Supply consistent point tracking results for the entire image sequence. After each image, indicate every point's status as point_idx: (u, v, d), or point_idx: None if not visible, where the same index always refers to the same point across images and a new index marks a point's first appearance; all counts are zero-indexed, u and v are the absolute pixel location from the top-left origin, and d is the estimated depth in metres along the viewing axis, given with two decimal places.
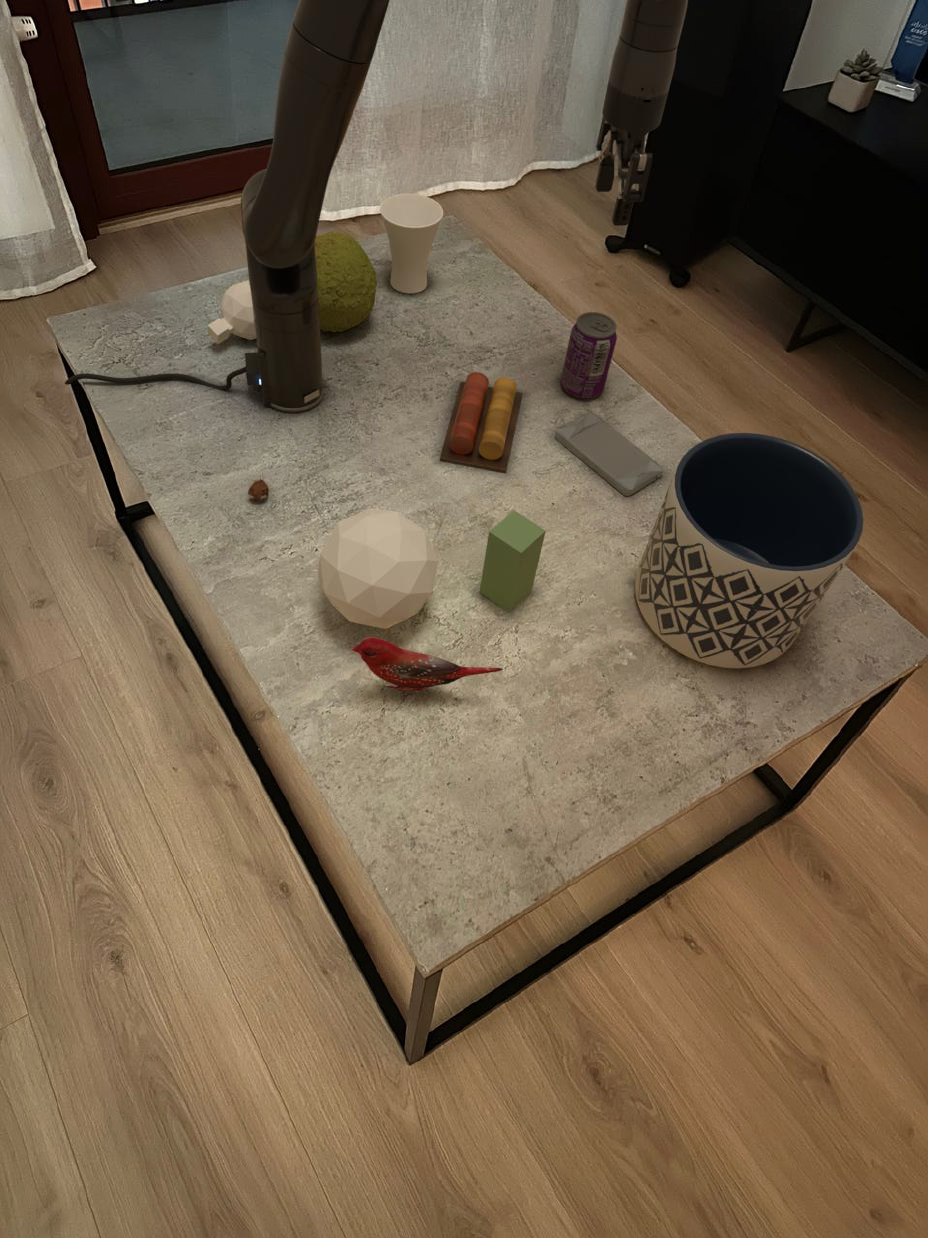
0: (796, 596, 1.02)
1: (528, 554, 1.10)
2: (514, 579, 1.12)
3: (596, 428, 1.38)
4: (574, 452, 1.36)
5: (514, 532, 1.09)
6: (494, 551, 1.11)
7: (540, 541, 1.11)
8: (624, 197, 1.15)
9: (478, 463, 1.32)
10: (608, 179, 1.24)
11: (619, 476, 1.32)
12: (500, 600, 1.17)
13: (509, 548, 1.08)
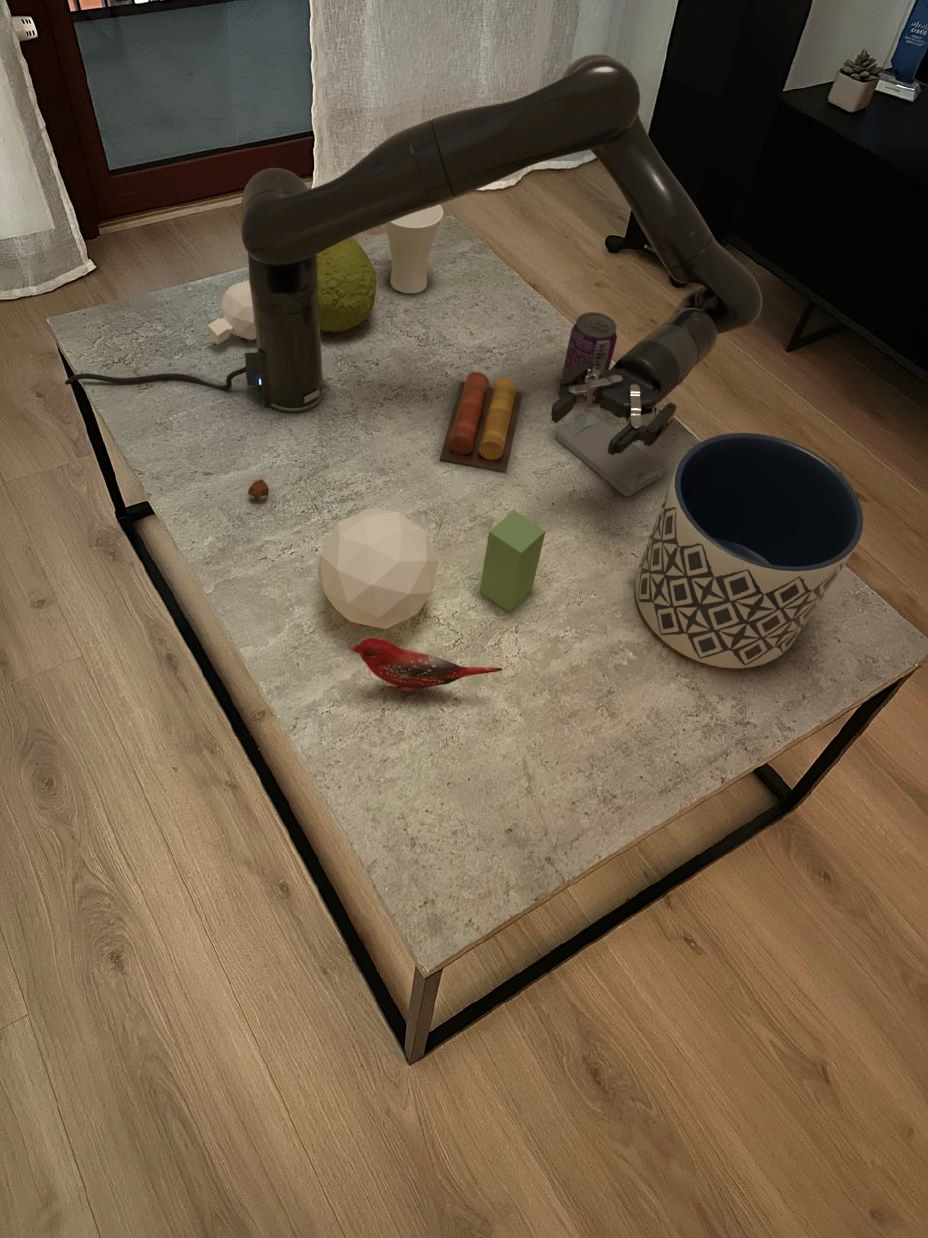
0: (796, 596, 1.02)
1: (528, 554, 1.10)
2: (514, 579, 1.12)
3: (596, 428, 1.38)
4: (574, 452, 1.36)
5: (514, 532, 1.09)
6: (494, 551, 1.11)
7: (540, 541, 1.11)
8: (653, 428, 1.08)
9: (478, 463, 1.32)
10: (564, 412, 1.12)
11: (619, 476, 1.32)
12: (500, 600, 1.17)
13: (509, 548, 1.08)
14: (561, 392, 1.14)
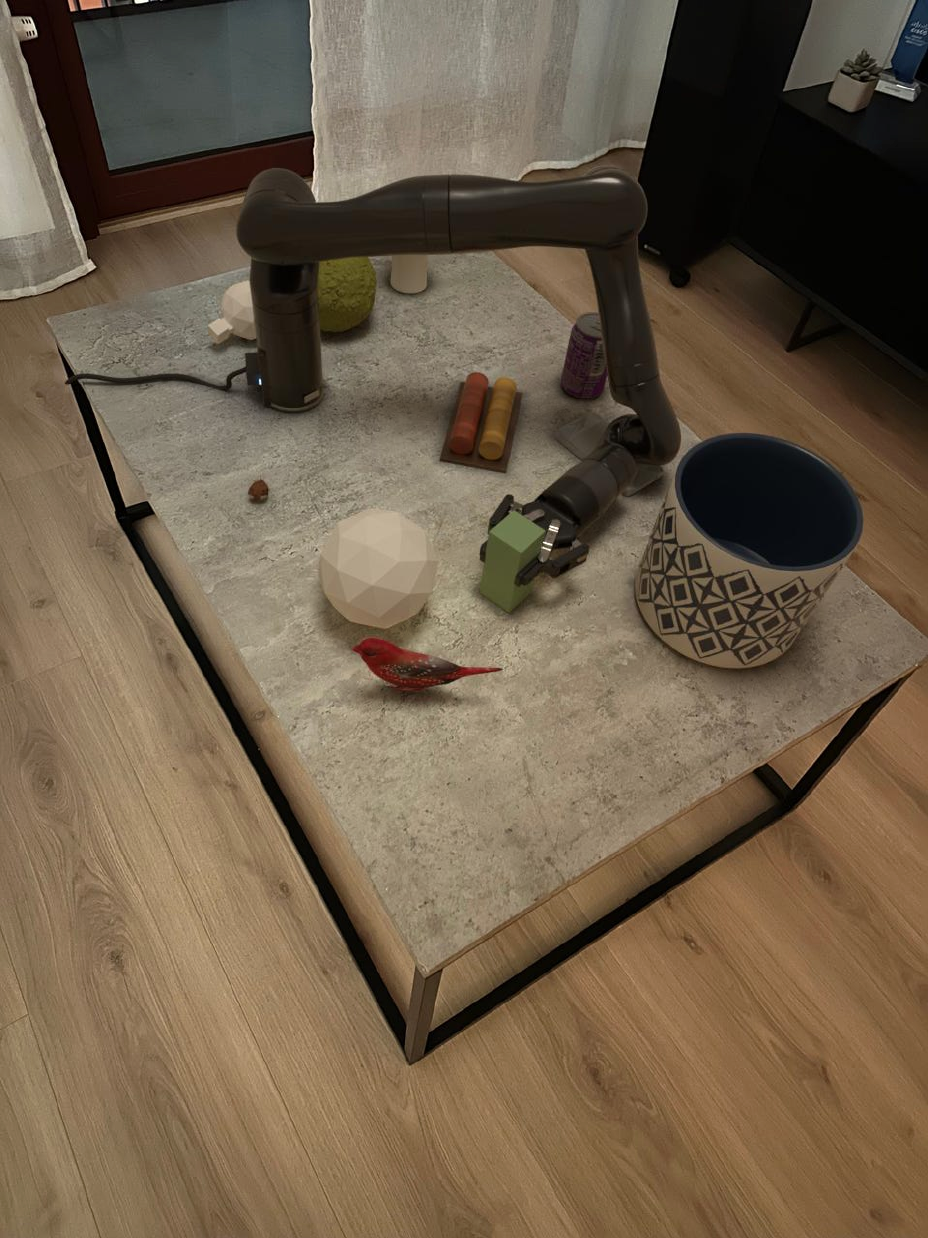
0: (796, 596, 1.02)
1: (528, 554, 1.10)
2: (514, 579, 1.12)
3: (596, 428, 1.38)
4: (574, 452, 1.36)
5: (514, 532, 1.09)
6: (494, 551, 1.11)
7: (540, 541, 1.11)
8: (558, 563, 1.12)
9: (478, 463, 1.32)
10: None
11: None
12: (500, 600, 1.17)
13: (509, 548, 1.08)
14: None
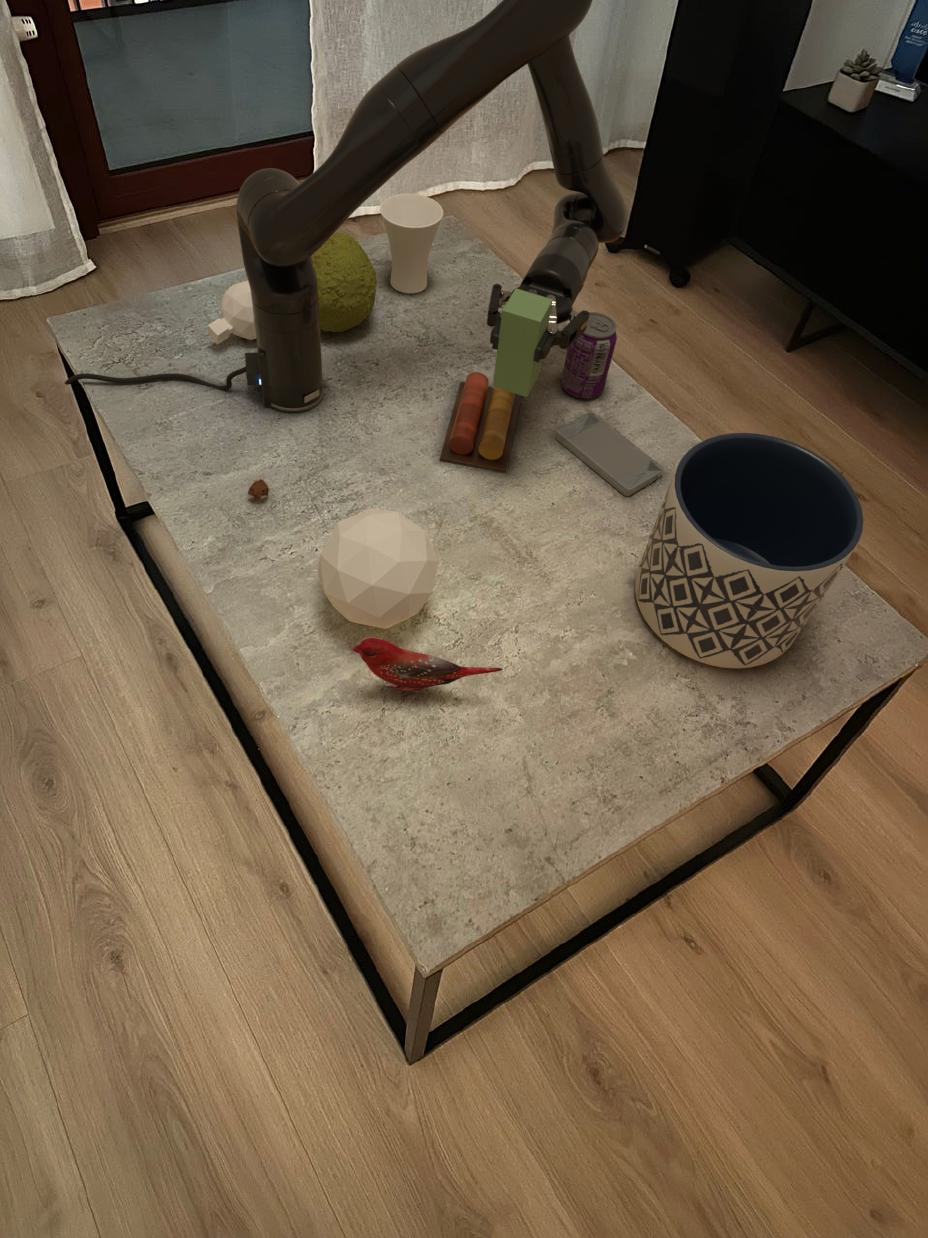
0: (796, 596, 1.02)
1: (542, 326, 1.12)
2: (533, 355, 1.14)
3: (596, 428, 1.38)
4: (574, 452, 1.36)
5: (525, 306, 1.11)
6: (509, 332, 1.13)
7: (549, 311, 1.13)
8: (568, 331, 1.15)
9: (478, 463, 1.32)
10: None
11: (619, 476, 1.32)
12: (517, 386, 1.19)
13: (526, 321, 1.11)
14: (491, 320, 1.17)
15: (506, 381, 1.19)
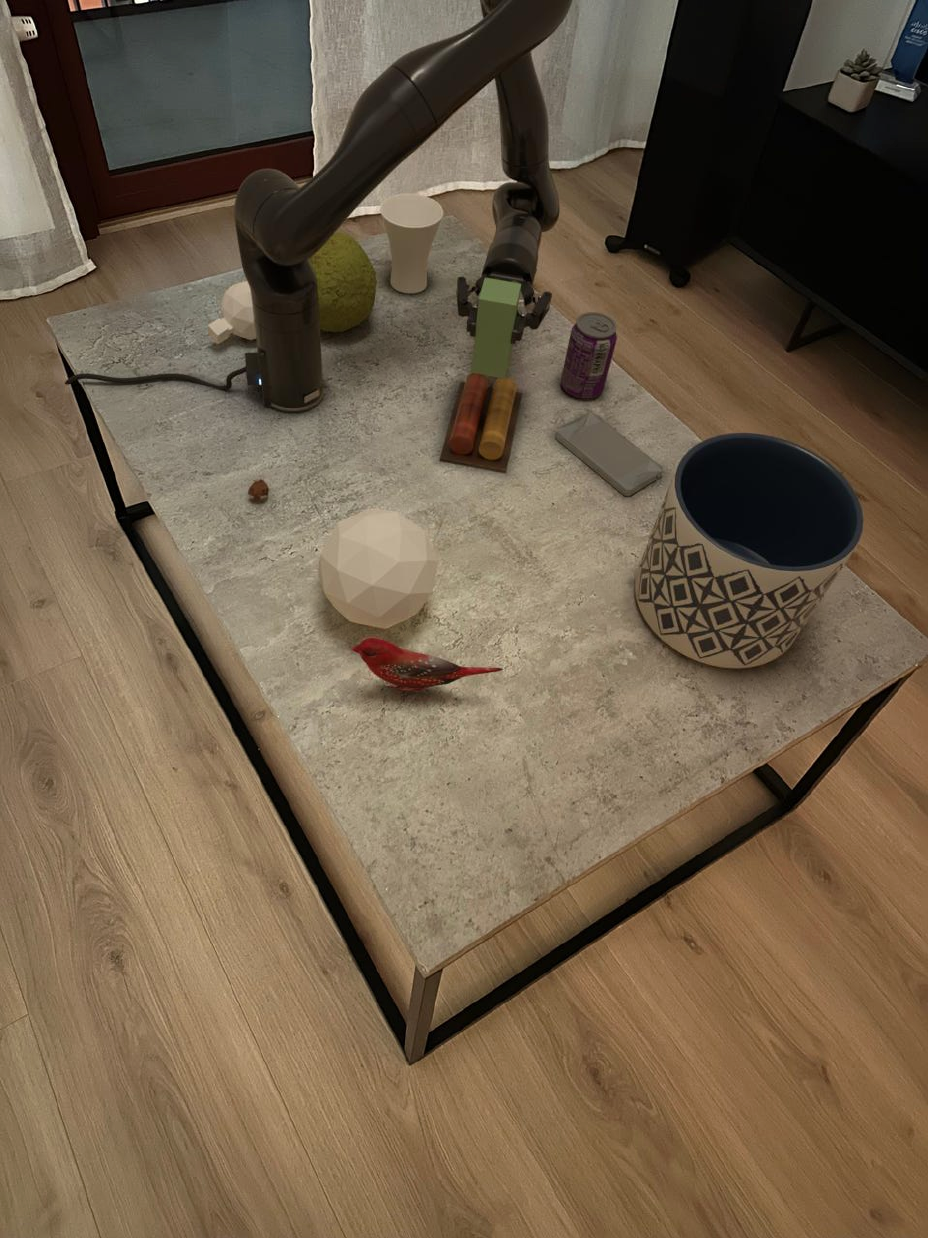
0: (796, 596, 1.02)
1: (516, 309, 1.20)
2: (510, 337, 1.22)
3: (596, 428, 1.38)
4: (574, 452, 1.36)
5: (499, 292, 1.19)
6: (486, 318, 1.20)
7: (519, 295, 1.21)
8: (537, 312, 1.23)
9: (478, 463, 1.32)
10: None
11: (619, 476, 1.32)
12: (495, 369, 1.26)
13: (503, 306, 1.18)
14: (463, 311, 1.24)
15: (484, 366, 1.26)
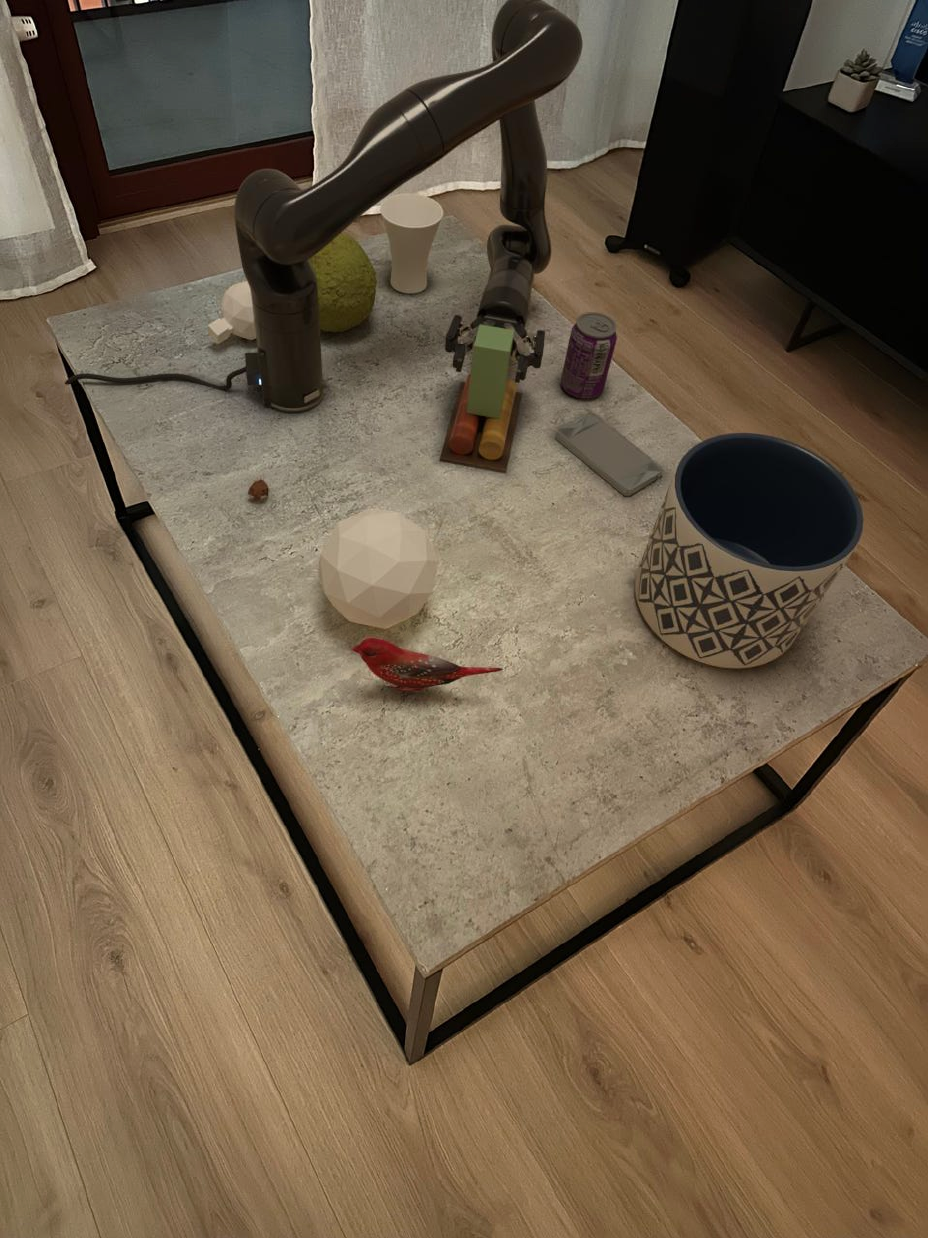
0: (796, 596, 1.02)
1: None
2: (504, 381, 1.28)
3: (596, 428, 1.38)
4: (574, 452, 1.36)
5: (493, 339, 1.25)
6: (480, 363, 1.26)
7: (512, 341, 1.27)
8: (540, 351, 1.29)
9: (478, 463, 1.32)
10: (463, 361, 1.29)
11: (619, 476, 1.32)
12: (489, 410, 1.32)
13: (497, 352, 1.24)
14: (449, 347, 1.30)
15: (479, 407, 1.32)
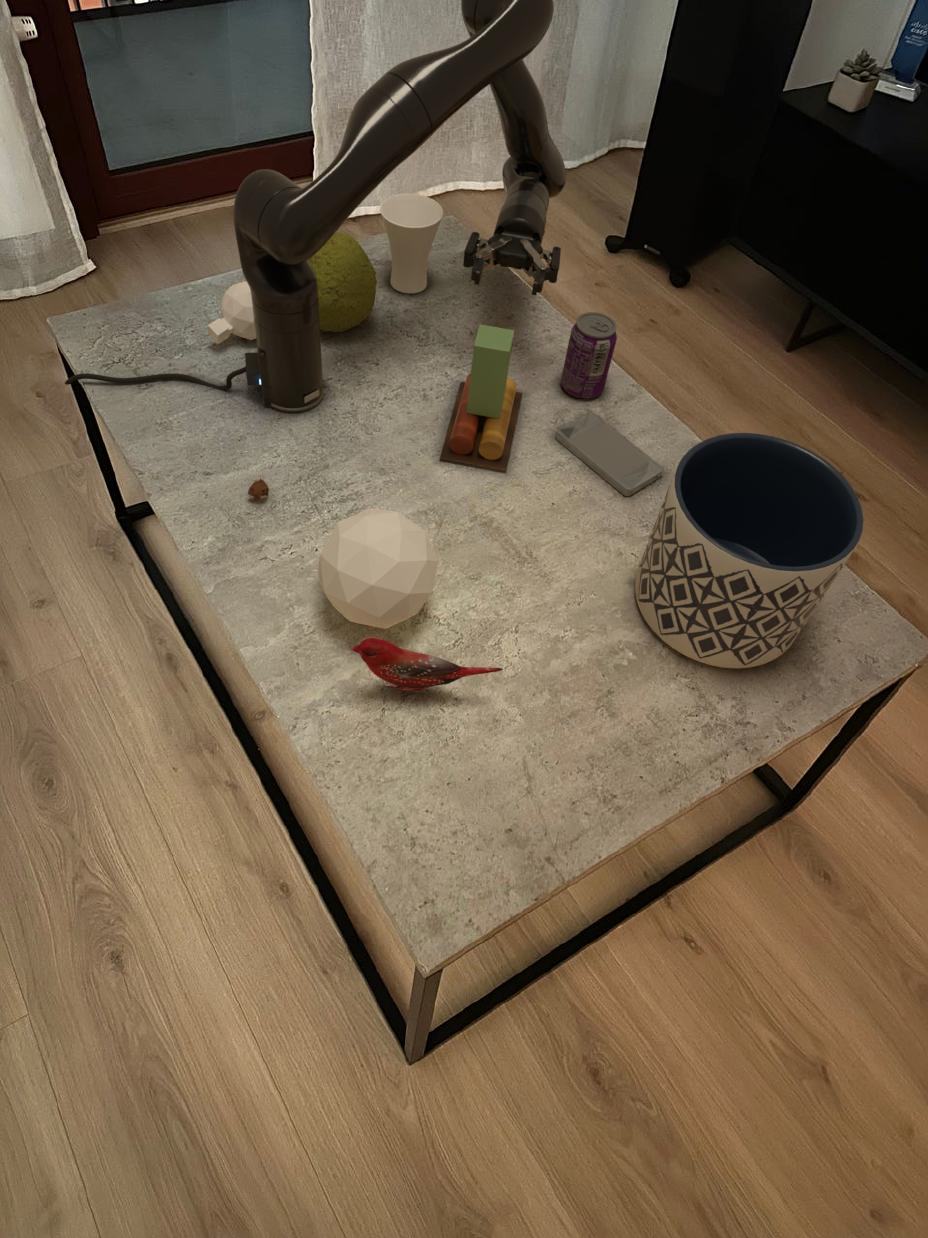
0: (796, 596, 1.02)
1: None
2: (504, 381, 1.28)
3: (596, 428, 1.38)
4: (574, 452, 1.36)
5: (493, 339, 1.25)
6: (480, 363, 1.26)
7: (512, 341, 1.27)
8: (557, 265, 1.32)
9: (478, 463, 1.32)
10: (481, 275, 1.32)
11: (619, 476, 1.32)
12: (489, 410, 1.32)
13: (497, 352, 1.24)
14: (467, 261, 1.33)
15: (479, 407, 1.32)
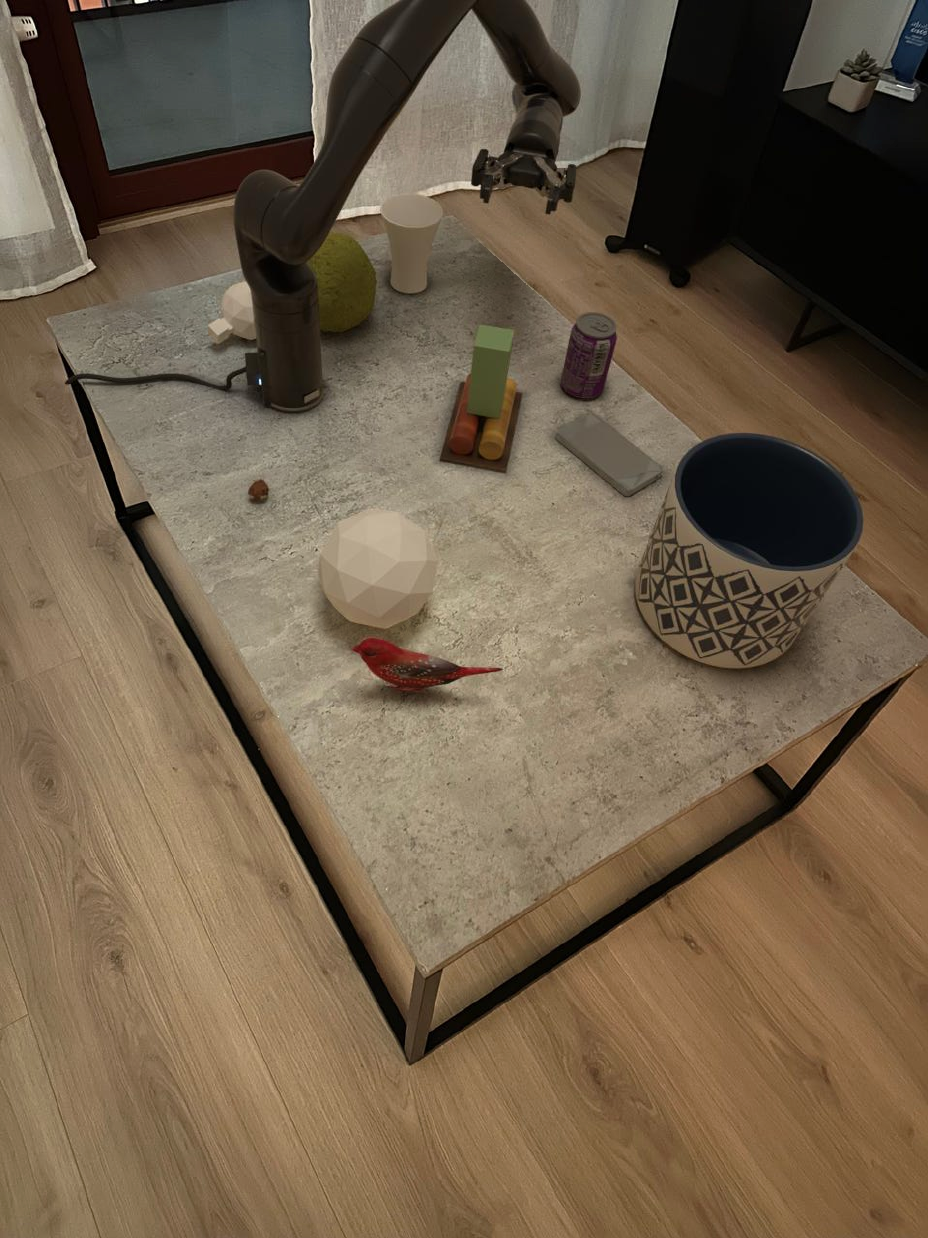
0: (796, 596, 1.02)
1: None
2: (504, 381, 1.28)
3: (596, 428, 1.38)
4: (574, 452, 1.36)
5: (493, 339, 1.25)
6: (480, 363, 1.26)
7: (512, 341, 1.27)
8: (572, 182, 1.22)
9: (478, 463, 1.32)
10: (490, 193, 1.22)
11: (619, 476, 1.32)
12: (489, 410, 1.32)
13: (497, 352, 1.24)
14: (476, 179, 1.24)
15: (479, 407, 1.32)
